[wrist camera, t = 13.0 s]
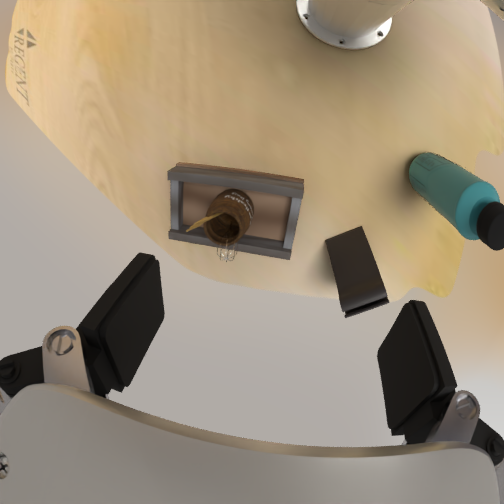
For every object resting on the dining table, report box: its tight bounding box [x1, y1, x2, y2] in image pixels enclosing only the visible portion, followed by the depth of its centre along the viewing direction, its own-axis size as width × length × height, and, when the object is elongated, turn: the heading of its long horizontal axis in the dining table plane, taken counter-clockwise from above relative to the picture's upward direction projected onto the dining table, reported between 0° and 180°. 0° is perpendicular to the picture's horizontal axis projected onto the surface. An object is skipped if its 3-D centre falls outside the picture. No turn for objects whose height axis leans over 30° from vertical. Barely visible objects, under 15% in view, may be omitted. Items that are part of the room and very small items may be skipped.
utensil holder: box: [186, 189, 254, 262], centre depth 35 cm, size 6×6×12 cm
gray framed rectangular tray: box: [168, 162, 304, 260], centre depth 39 cm, size 11×18×4 cm, turn 84°
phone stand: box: [326, 226, 389, 318], centre depth 37 cm, size 9×6×12 cm, turn 29°
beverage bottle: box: [409, 152, 504, 250], centre depth 25 cm, size 6×7×20 cm
